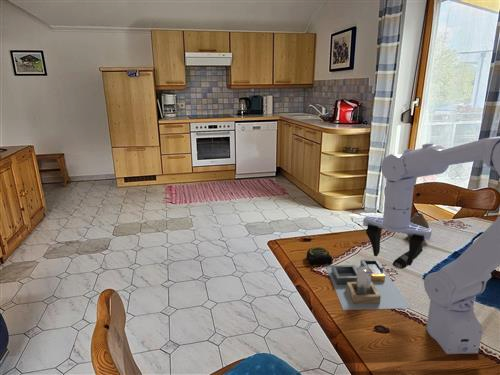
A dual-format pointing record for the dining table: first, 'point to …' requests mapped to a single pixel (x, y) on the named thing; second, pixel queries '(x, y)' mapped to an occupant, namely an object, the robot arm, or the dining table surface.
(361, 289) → the frosted capsule tube
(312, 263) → the tape measure
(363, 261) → the socket
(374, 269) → the key
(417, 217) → the vase
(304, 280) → the dining table surface
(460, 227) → the dining table surface
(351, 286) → the brown piece
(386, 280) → the board
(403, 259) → the electric trimmer
